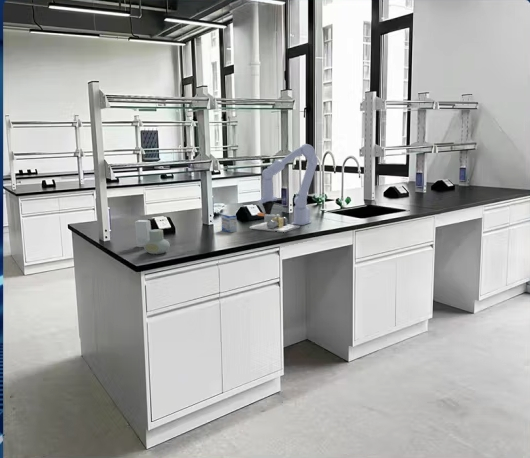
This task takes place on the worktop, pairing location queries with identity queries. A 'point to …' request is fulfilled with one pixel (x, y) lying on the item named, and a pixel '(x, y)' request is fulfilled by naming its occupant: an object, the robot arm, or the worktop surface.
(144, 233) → the skincare box
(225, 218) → the medicine box
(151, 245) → the air freshener
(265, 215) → the lever
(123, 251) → the worktop surface
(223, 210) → the worktop surface
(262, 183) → the robot arm
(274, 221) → the valve rig
